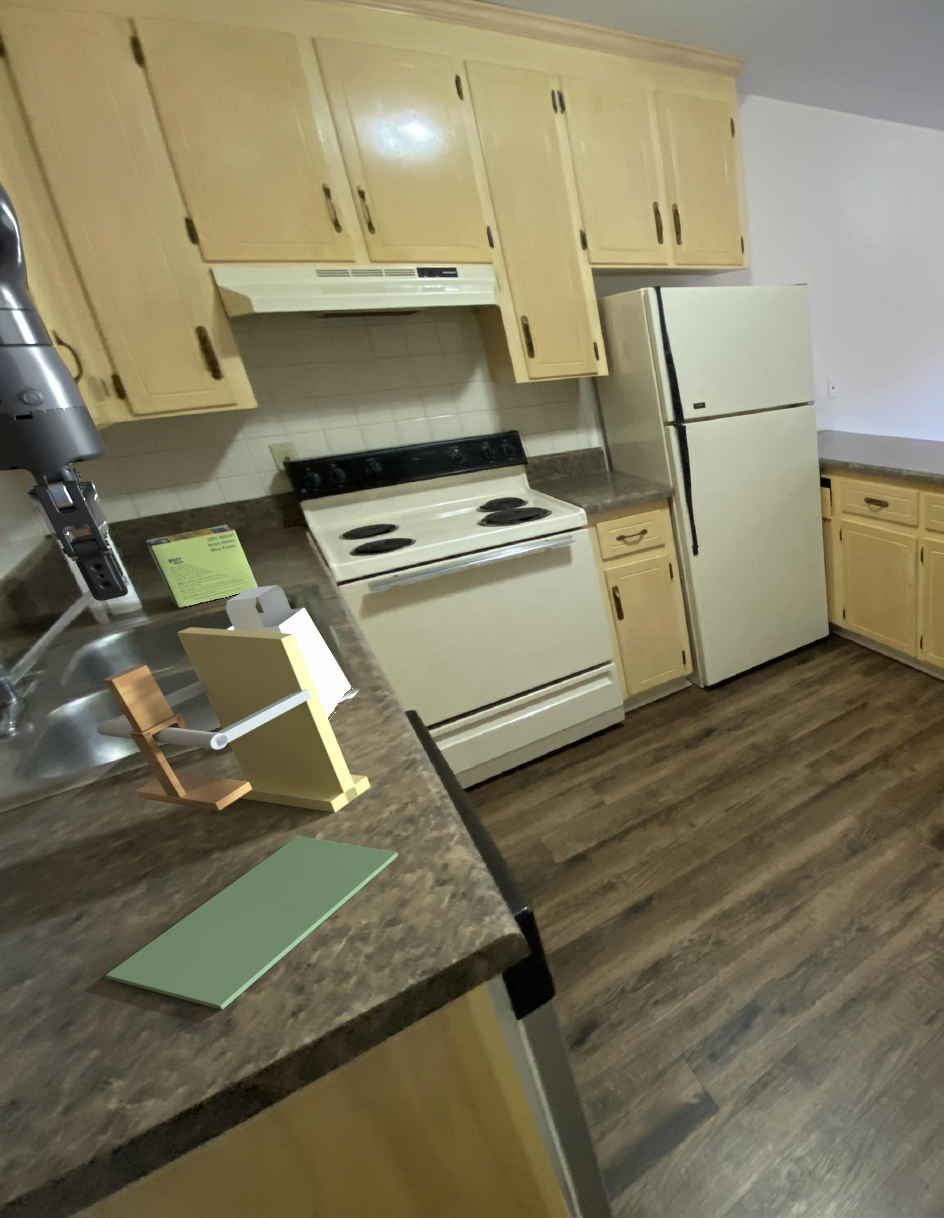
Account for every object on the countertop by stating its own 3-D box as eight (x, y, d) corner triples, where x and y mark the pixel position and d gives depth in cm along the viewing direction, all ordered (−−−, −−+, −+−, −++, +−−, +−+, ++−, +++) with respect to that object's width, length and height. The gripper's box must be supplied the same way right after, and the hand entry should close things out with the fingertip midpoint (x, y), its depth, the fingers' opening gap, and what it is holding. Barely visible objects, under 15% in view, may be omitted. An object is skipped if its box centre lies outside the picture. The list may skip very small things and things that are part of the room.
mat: (107, 979, 59) (104, 975, 58) (299, 839, 75) (297, 835, 74) (222, 1010, 55) (219, 1006, 55) (398, 855, 71) (396, 852, 71)
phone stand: (219, 811, 69) (147, 685, 62) (138, 798, 72) (63, 677, 65) (252, 789, 72) (187, 667, 65) (174, 777, 75) (105, 660, 69)
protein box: (260, 589, 164) (235, 529, 158) (179, 610, 153) (149, 546, 148) (250, 582, 171) (226, 524, 165) (172, 601, 160) (143, 539, 154)
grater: (245, 737, 97) (187, 611, 89) (282, 702, 106) (233, 585, 99) (324, 724, 99) (274, 600, 91) (354, 691, 108) (310, 576, 101)
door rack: (268, 863, 71) (180, 683, 63) (159, 843, 76) (64, 673, 67) (372, 787, 83) (310, 627, 75) (273, 773, 87) (204, 621, 79)
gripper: (-39, 410, 57) (54, 585, 63) (-60, 414, 48) (51, 618, 54) (83, 401, 62) (158, 564, 68) (85, 402, 53) (172, 591, 59)
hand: (111, 588), depth 61 cm, fingers open, 8 cm apart
